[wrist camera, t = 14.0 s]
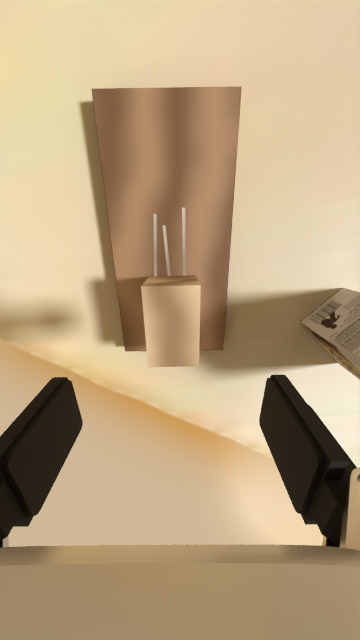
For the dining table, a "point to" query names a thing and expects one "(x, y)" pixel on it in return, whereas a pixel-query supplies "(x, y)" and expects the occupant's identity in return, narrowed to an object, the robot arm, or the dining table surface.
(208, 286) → the board
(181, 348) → the block
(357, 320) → the coffee box
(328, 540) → the robot arm
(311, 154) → the dining table surface
